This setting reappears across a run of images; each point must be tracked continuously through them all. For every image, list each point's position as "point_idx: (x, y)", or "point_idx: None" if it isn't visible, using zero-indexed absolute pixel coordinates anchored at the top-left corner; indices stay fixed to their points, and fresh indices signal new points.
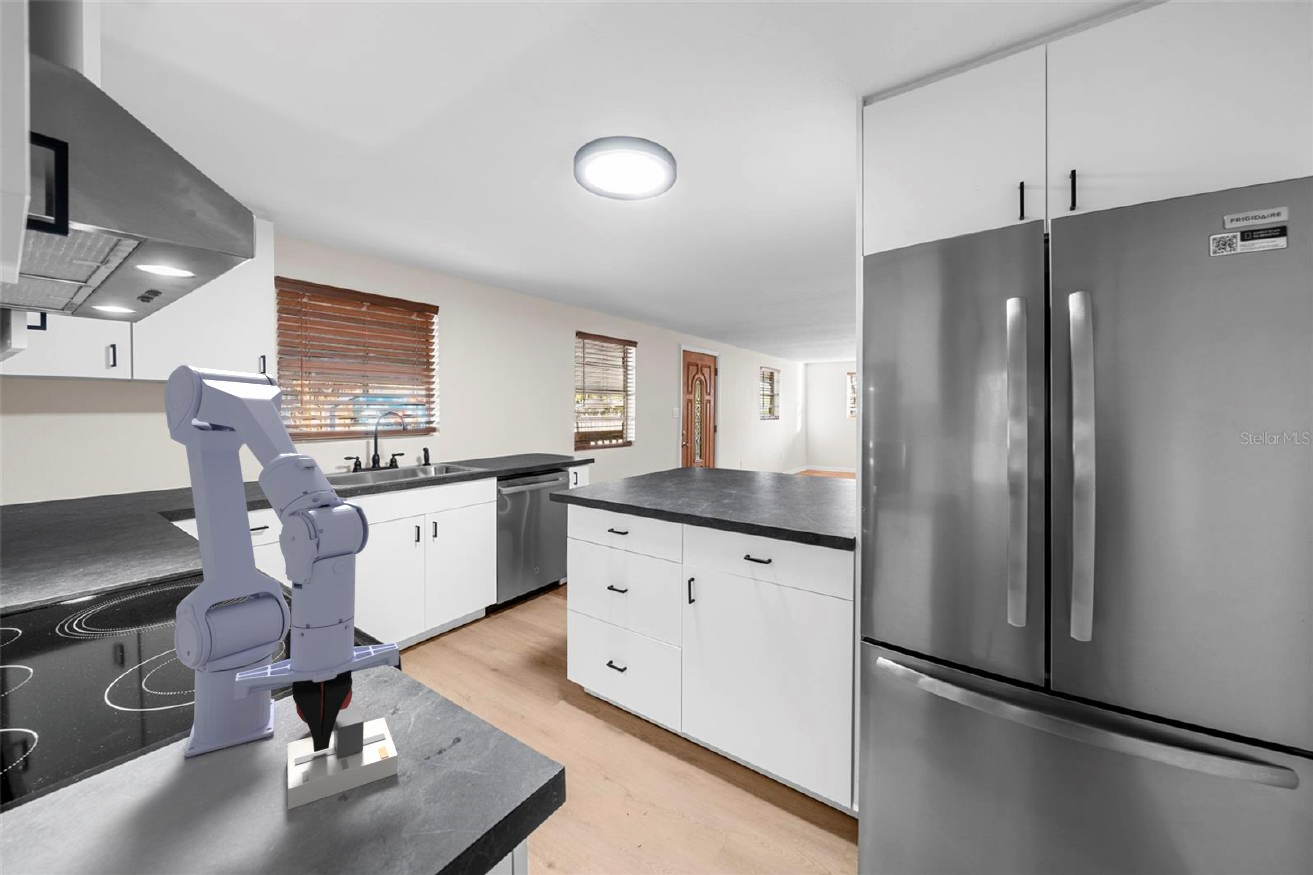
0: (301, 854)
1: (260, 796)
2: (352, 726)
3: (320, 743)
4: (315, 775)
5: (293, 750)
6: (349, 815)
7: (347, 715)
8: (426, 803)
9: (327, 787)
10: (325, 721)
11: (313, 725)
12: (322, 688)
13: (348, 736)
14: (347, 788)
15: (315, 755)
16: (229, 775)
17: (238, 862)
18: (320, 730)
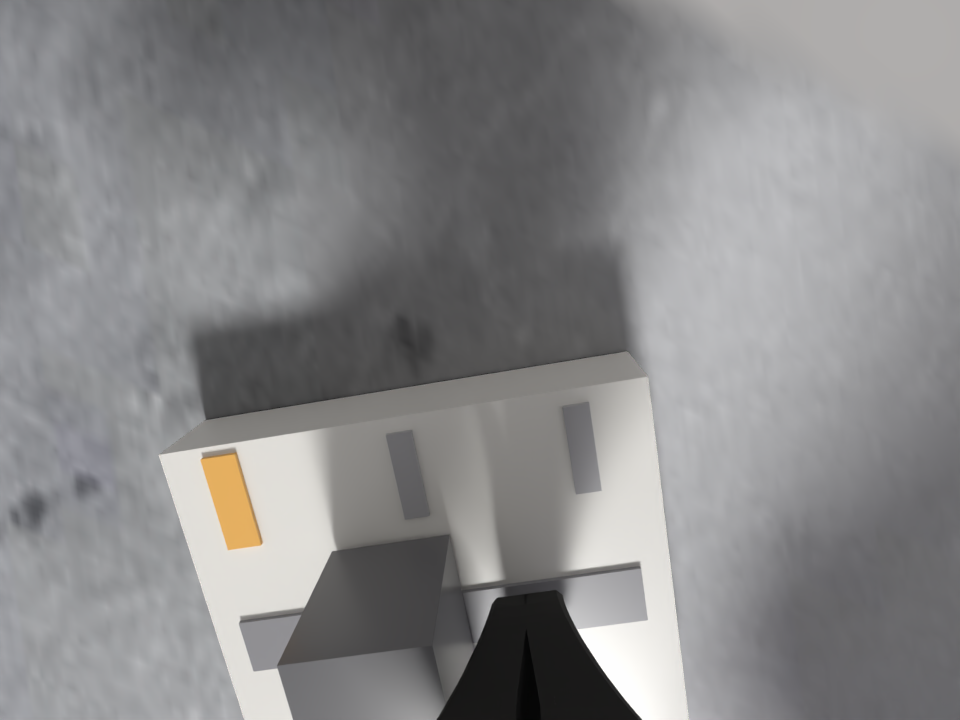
0: (536, 5)
1: (743, 495)
2: (348, 648)
3: (533, 612)
4: (535, 439)
5: (660, 696)
6: (372, 199)
7: None
8: (45, 137)
9: (479, 389)
10: (508, 702)
11: (585, 688)
12: None
13: (380, 602)
14: (402, 390)
15: None
16: (875, 689)
17: (775, 70)
18: (537, 662)
